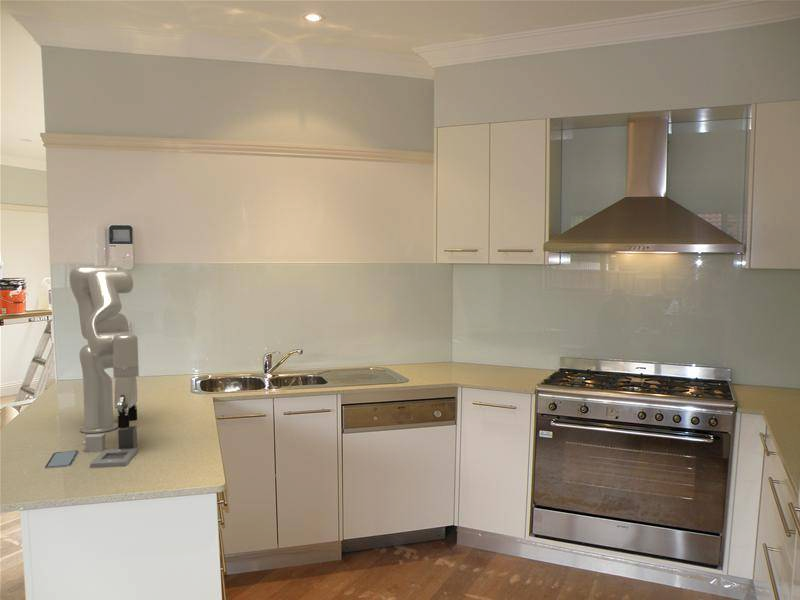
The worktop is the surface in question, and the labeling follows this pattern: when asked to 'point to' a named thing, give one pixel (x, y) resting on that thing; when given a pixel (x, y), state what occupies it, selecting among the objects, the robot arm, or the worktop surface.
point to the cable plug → (94, 442)
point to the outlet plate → (114, 457)
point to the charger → (127, 437)
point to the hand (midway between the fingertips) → (128, 424)
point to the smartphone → (62, 459)
